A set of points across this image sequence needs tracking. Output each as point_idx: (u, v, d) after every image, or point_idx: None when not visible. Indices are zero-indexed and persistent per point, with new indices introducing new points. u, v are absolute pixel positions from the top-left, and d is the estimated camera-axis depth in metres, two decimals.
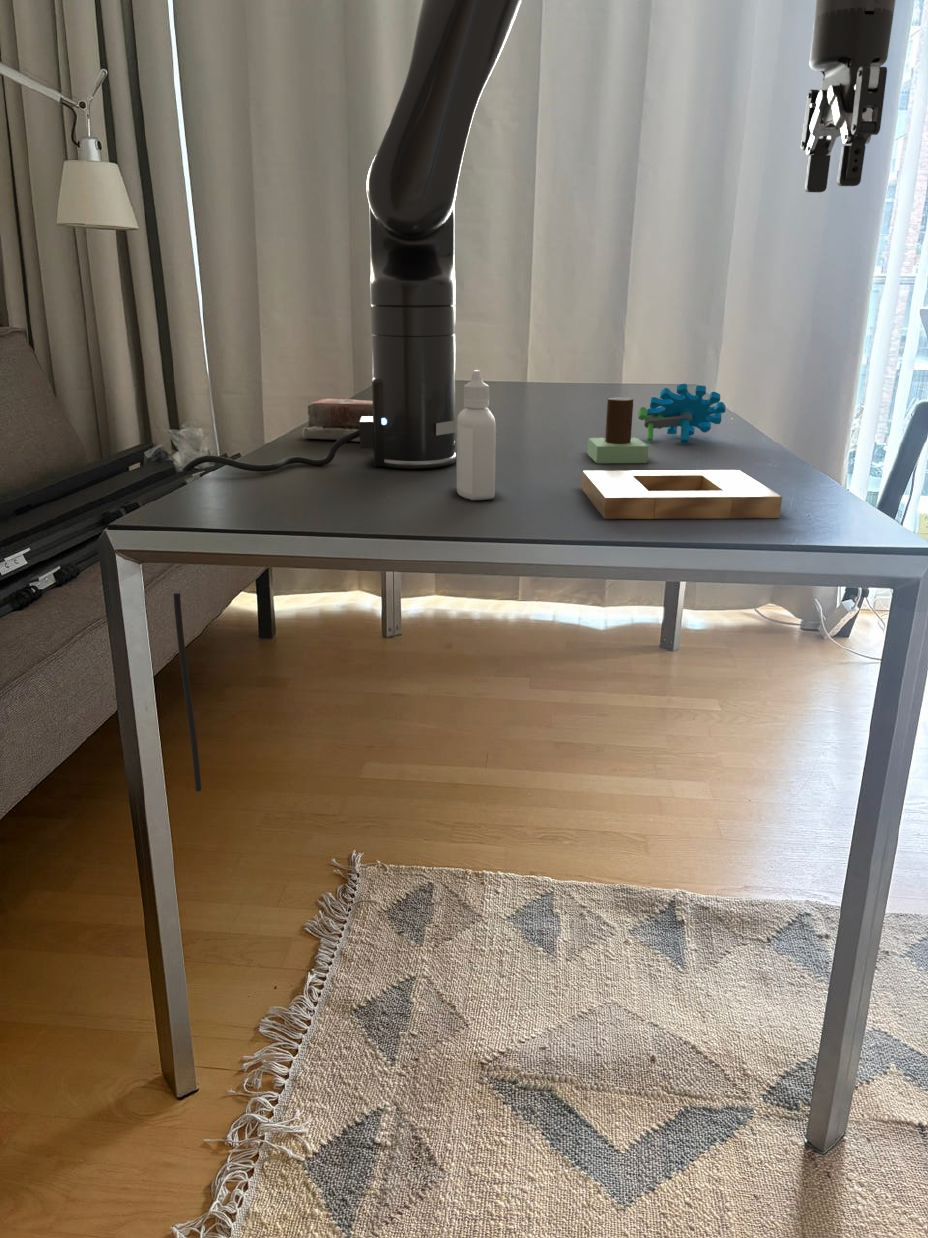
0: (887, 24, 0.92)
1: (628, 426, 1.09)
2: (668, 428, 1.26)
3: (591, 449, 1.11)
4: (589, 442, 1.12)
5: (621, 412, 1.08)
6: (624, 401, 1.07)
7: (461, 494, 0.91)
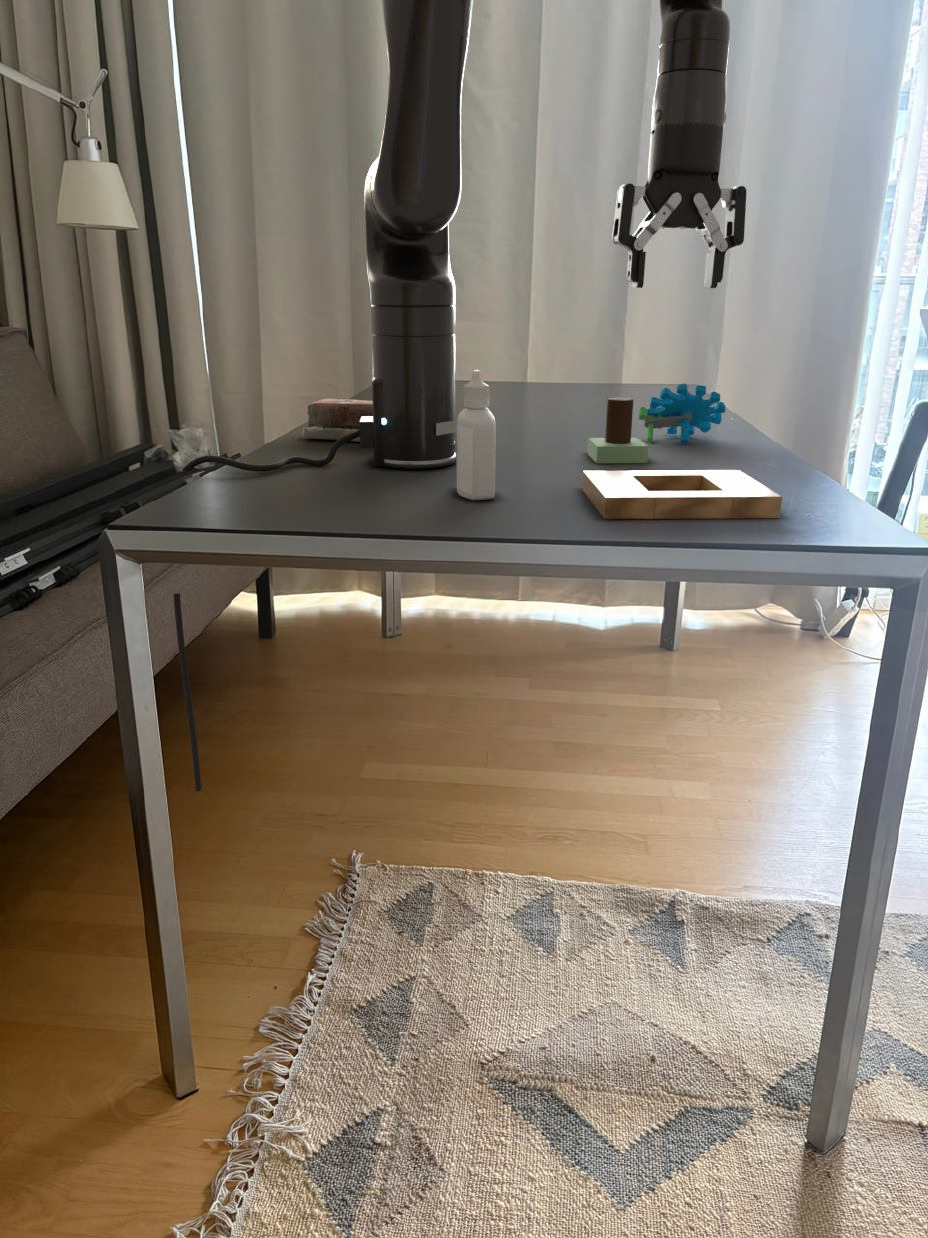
0: (667, 137, 0.96)
1: (628, 426, 1.09)
2: (668, 428, 1.26)
3: (591, 449, 1.11)
4: (589, 442, 1.12)
5: (621, 412, 1.08)
6: (624, 401, 1.07)
7: (461, 494, 0.91)
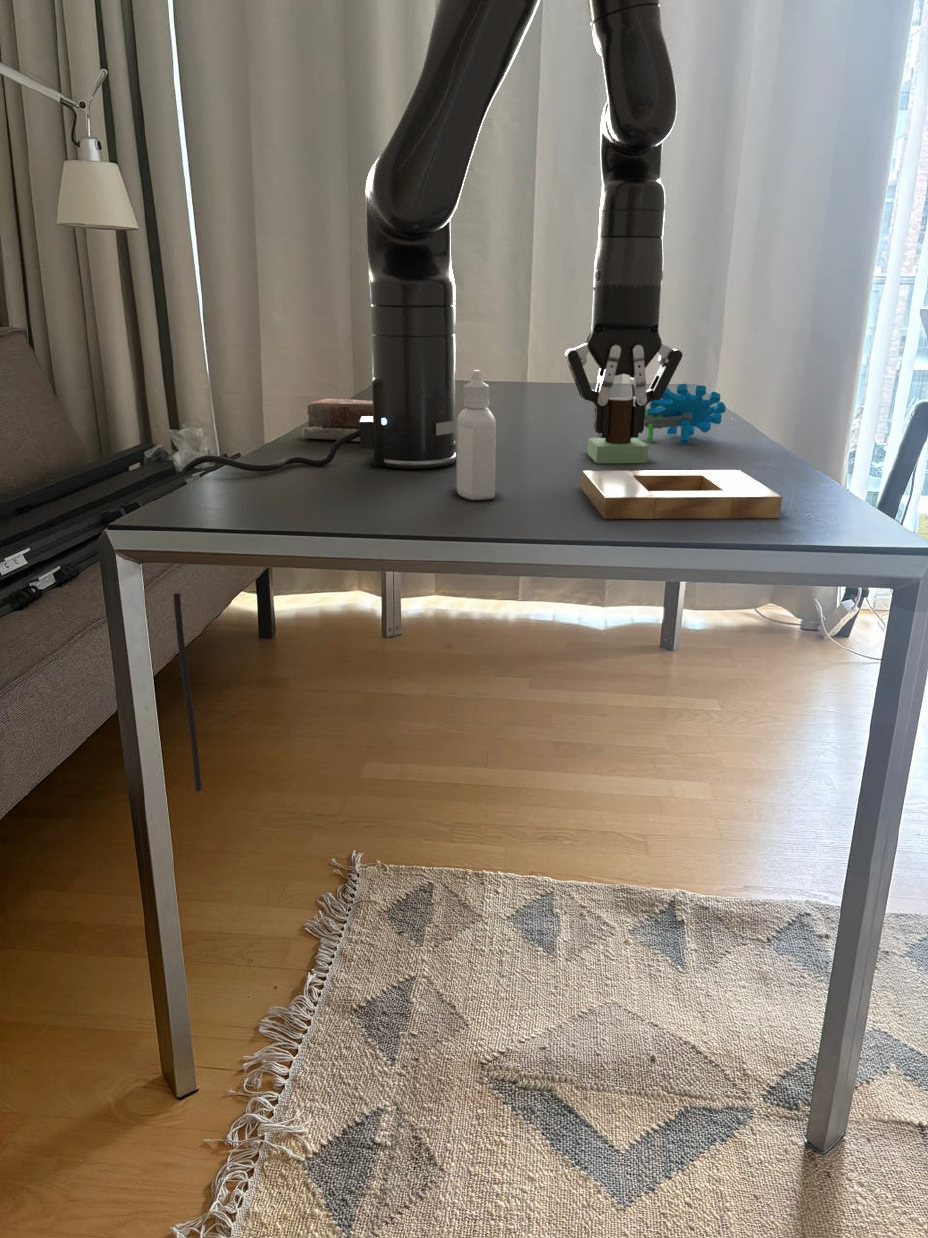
0: (604, 296, 1.02)
1: (628, 426, 1.09)
2: (668, 428, 1.26)
3: (591, 449, 1.11)
4: (589, 442, 1.12)
5: (621, 412, 1.08)
6: (624, 401, 1.07)
7: (461, 494, 0.91)
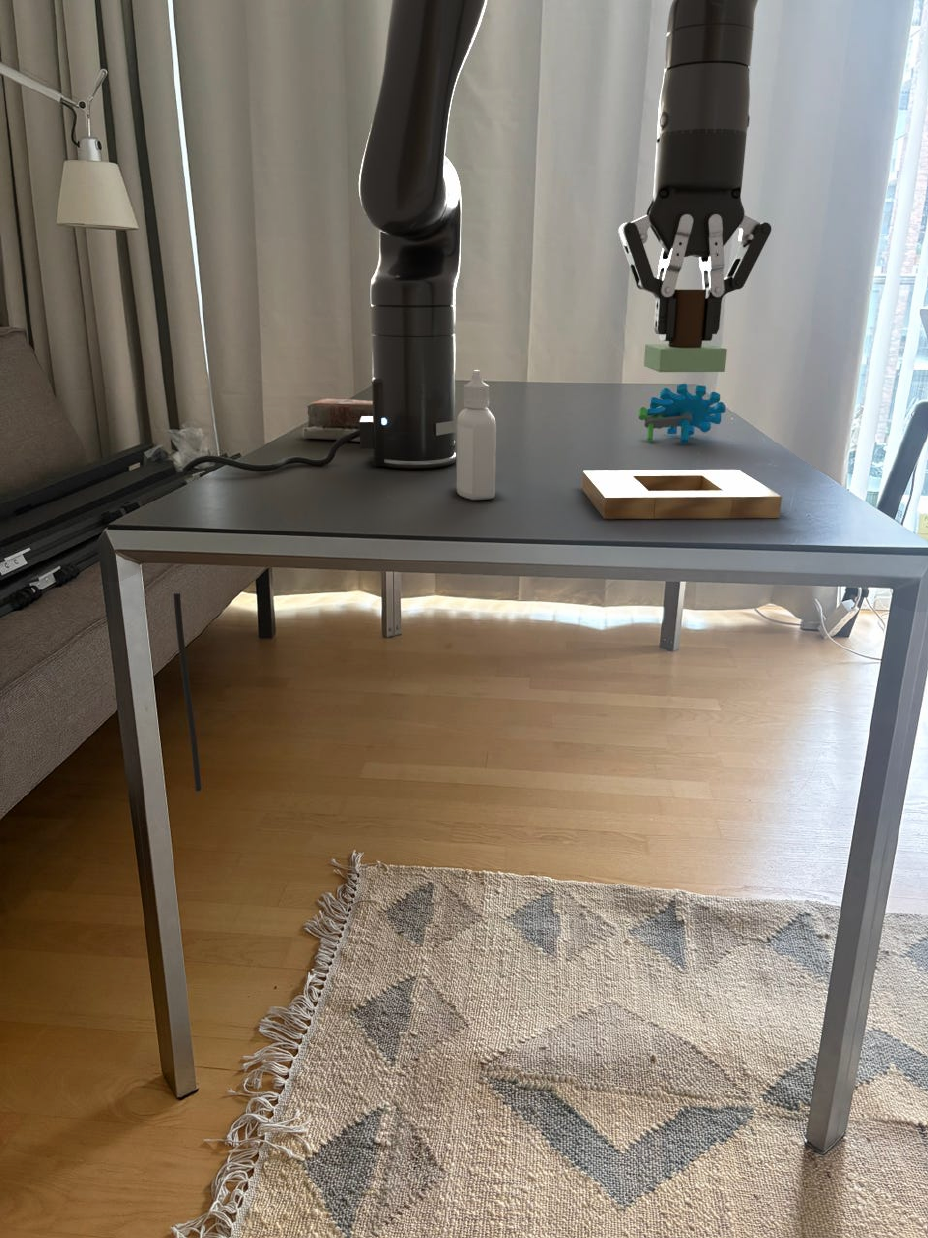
0: (674, 147, 0.78)
1: (700, 324, 0.84)
2: (668, 428, 1.26)
3: (650, 357, 0.87)
4: (647, 349, 0.88)
5: (692, 305, 0.84)
6: (695, 291, 0.83)
7: (461, 494, 0.91)
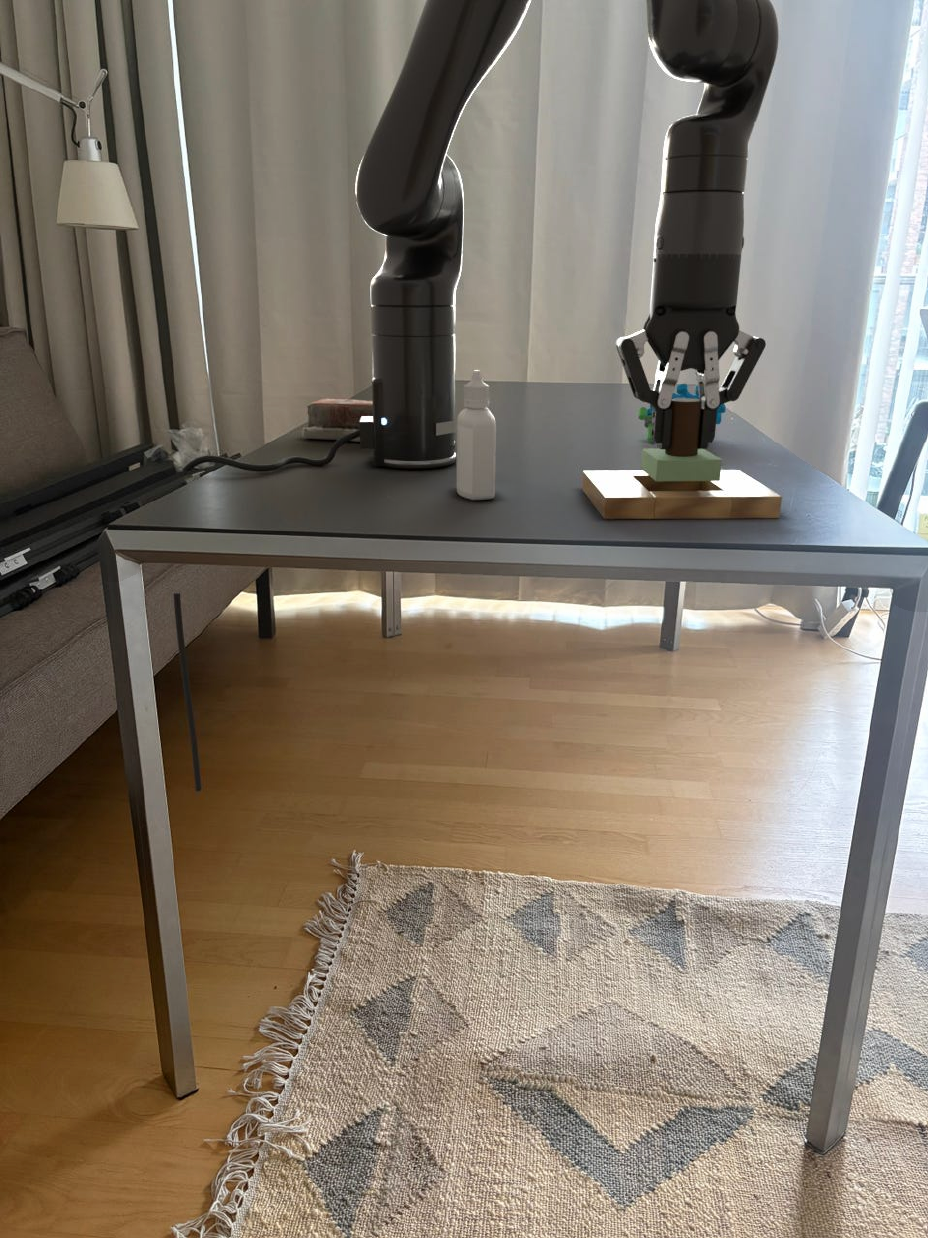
0: (669, 269, 0.80)
1: (695, 434, 0.86)
2: None
3: (647, 463, 0.89)
4: (644, 454, 0.90)
5: (688, 417, 0.85)
6: (691, 403, 0.85)
7: (461, 494, 0.91)
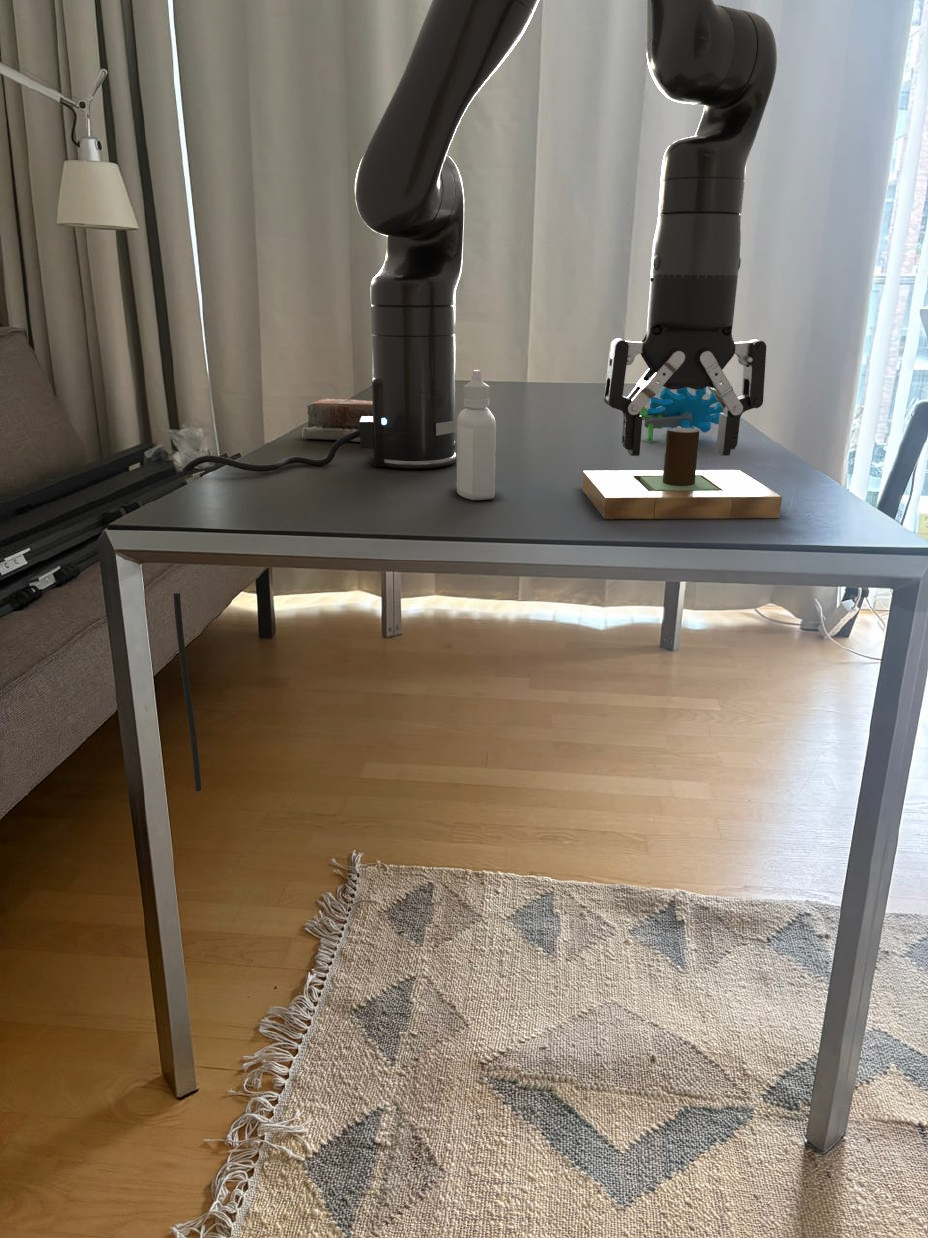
0: (666, 290, 0.80)
1: (693, 464, 0.87)
2: (668, 428, 1.26)
3: None
4: (642, 482, 0.91)
5: (685, 447, 0.86)
6: (689, 433, 0.86)
7: (461, 494, 0.91)
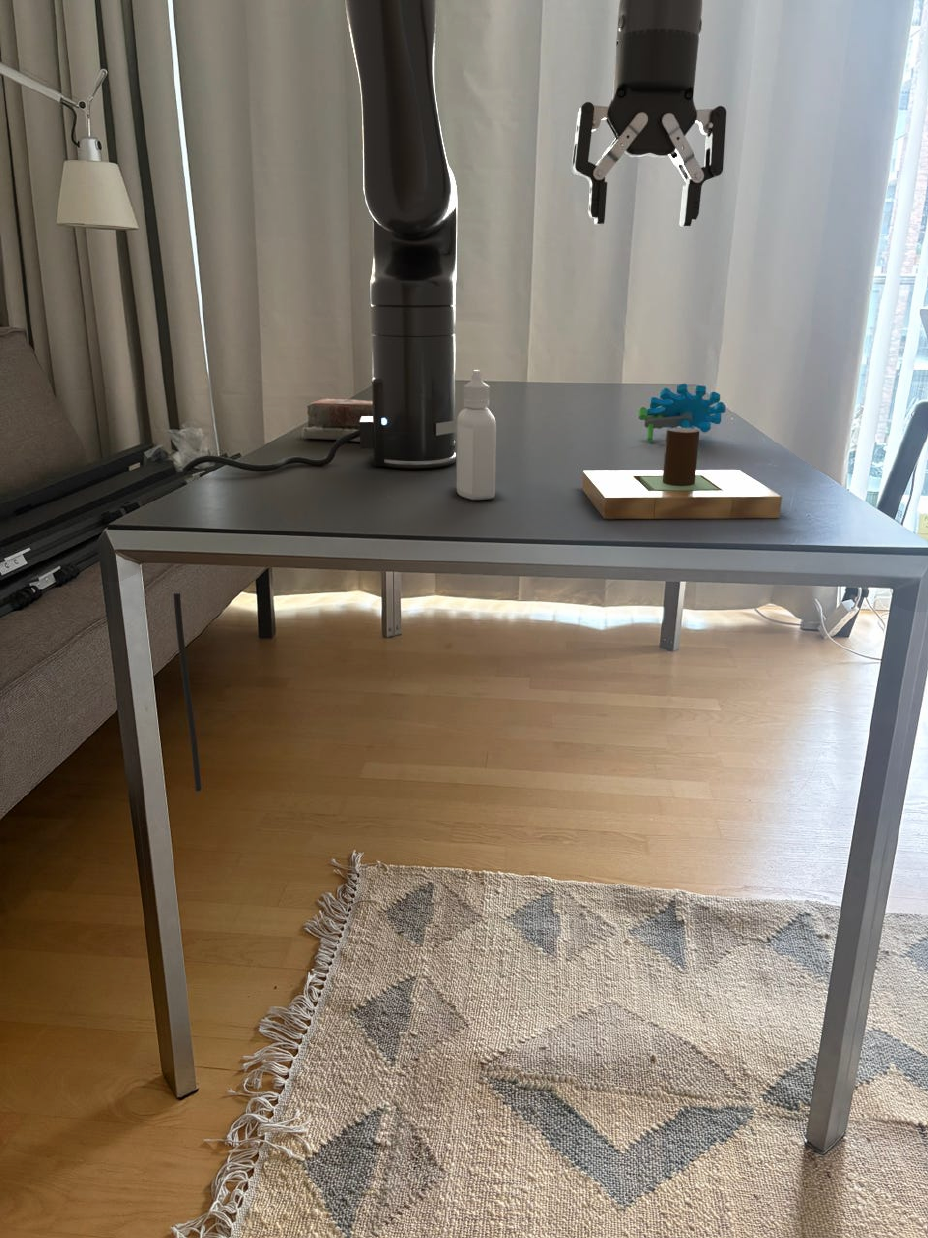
0: (629, 47, 0.84)
1: (693, 464, 0.87)
2: (668, 428, 1.26)
3: None
4: (642, 482, 0.91)
5: (685, 447, 0.86)
6: (689, 433, 0.86)
7: (461, 494, 0.91)
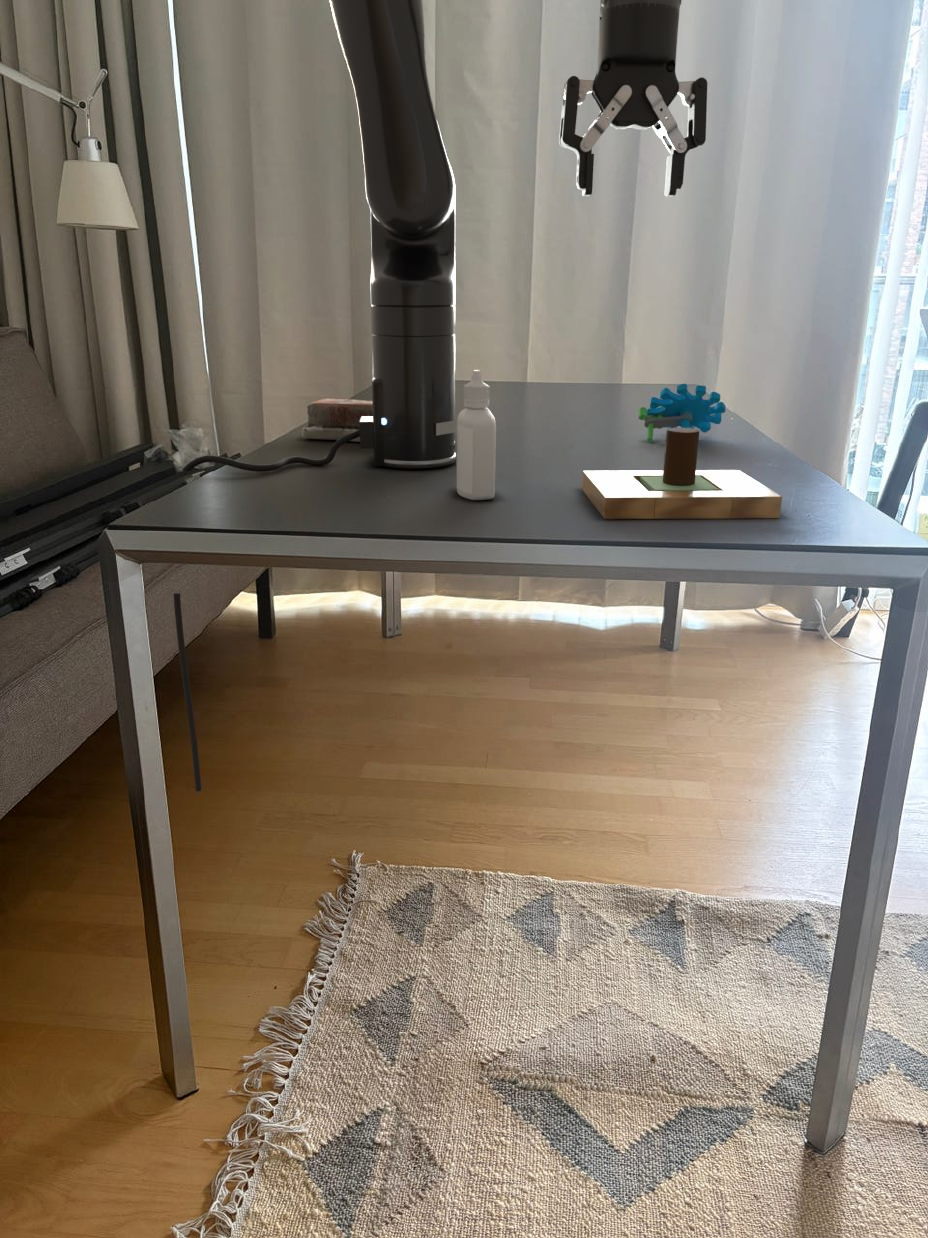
0: (613, 21, 0.87)
1: (693, 464, 0.87)
2: (668, 428, 1.26)
3: None
4: (642, 482, 0.91)
5: (685, 447, 0.86)
6: (689, 433, 0.86)
7: (461, 494, 0.91)
